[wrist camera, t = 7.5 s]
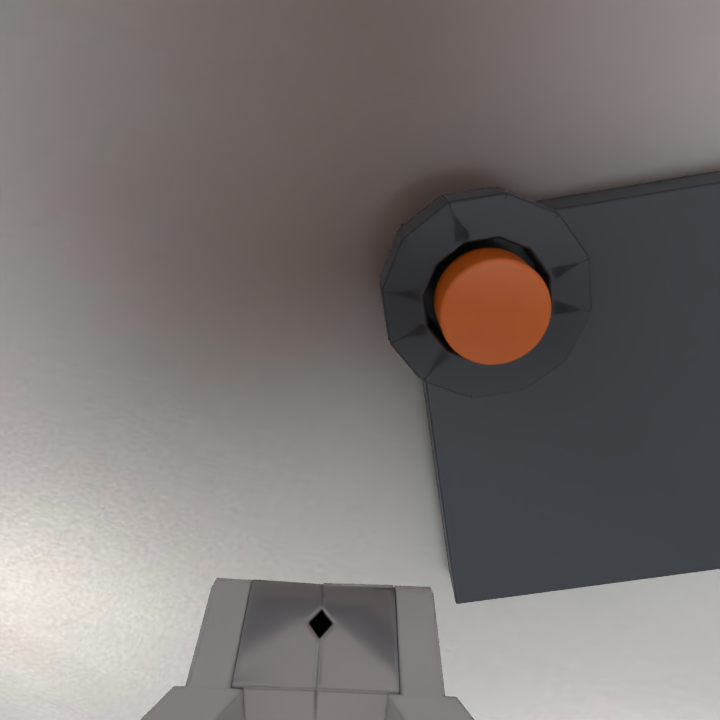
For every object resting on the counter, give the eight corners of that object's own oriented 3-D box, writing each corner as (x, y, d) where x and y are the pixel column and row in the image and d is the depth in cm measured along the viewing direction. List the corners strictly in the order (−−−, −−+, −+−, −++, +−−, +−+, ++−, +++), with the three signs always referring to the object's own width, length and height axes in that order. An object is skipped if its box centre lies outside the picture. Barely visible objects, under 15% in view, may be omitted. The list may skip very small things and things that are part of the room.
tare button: (427, 255, 18) (433, 268, 17) (533, 238, 18) (548, 249, 17) (440, 354, 19) (446, 373, 18) (540, 338, 19) (555, 357, 18)
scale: (367, 198, 21) (368, 214, 18) (778, 129, 20) (860, 133, 17) (425, 574, 26) (435, 640, 23) (754, 529, 25) (813, 591, 22)
